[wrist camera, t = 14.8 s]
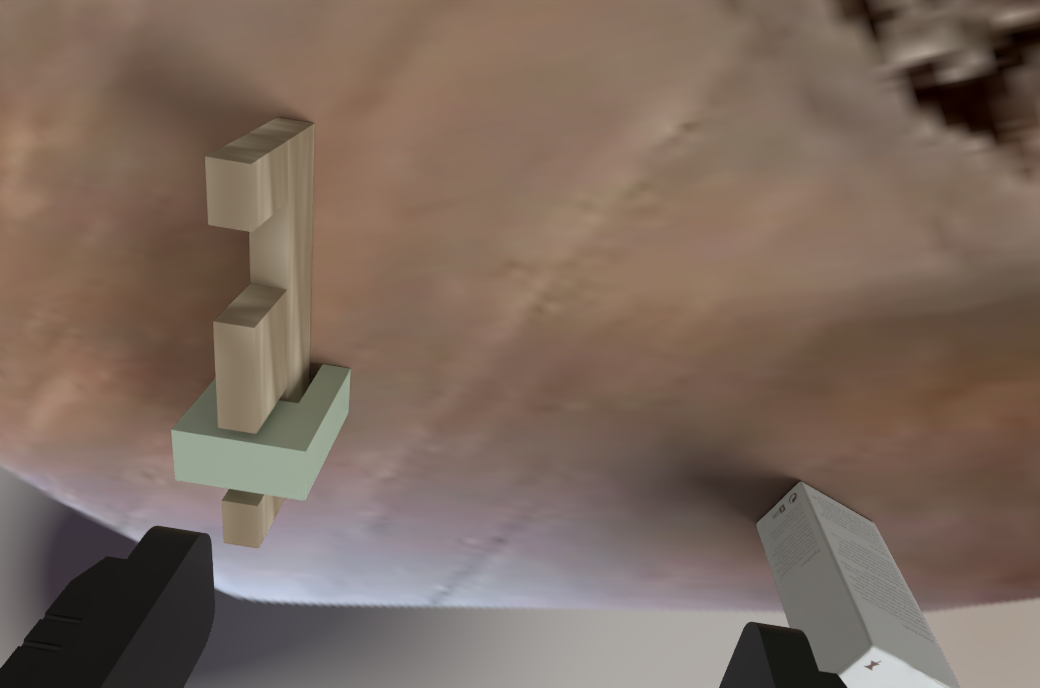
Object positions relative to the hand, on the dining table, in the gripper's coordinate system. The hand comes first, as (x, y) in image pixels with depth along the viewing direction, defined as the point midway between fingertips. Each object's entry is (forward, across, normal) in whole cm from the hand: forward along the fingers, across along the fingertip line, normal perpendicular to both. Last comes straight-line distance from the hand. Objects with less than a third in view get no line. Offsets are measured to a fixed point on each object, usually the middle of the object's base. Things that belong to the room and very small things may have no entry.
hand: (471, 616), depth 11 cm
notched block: (+28, +12, +15) cm, 34 cm away
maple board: (+28, +12, +10) cm, 32 cm away
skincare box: (+28, -20, +19) cm, 40 cm away
